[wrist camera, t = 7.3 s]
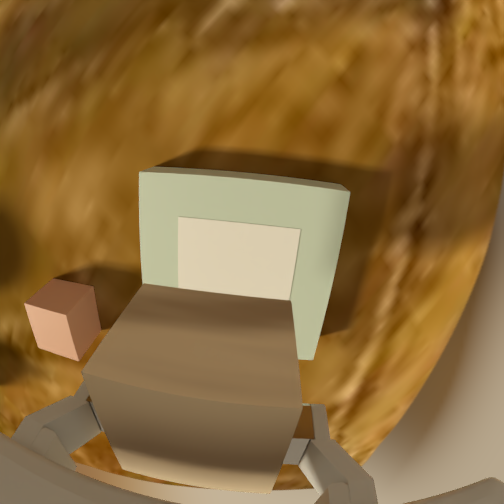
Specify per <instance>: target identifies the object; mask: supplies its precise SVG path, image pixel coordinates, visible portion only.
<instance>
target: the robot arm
mask: <svg viewBox="0 0 504 504" xmlns="http://www.w3.org/2000/svg"><path fill="white" fill-rule="evenodd" d="M302 405H303V409H302V412H301V415H300V418H299V421H298V424H297V426H296V429H295V432H294V435H293V437H292V440H291V443H290V446H289V448H288V451H287V453H286V456H285V459H284V461H283V464H298V466H299V467H300V469H301V470H302V471H303V473H304V474H305V476H306V477H307V479H308V480H309V481H310V483H311V484H312V485H313V487H314V488H315V490H316V491H317V492H318V494H319V495H320V498H319V499H318V500H317V501H316V502H315V504H378V502H377V496H376V490H375V485H374V480H373V478H372V477H371V476H369V474H368V473H367V472H366V471H365V470H364V469H363V468H362V467H361V466H360V465H359V464H358V463H357V462H356V461H355V460H354V459H353V458H352V457H351V456H350V455H349V454H348V453H347V452H346V451H345V450H344V449H343V448H342V447H341V446H340V445H339V444H338V443H337V442H336V441H335V440H331V439H330V435H329V428H328V421H327V414H326V408H325V405H324V404H302ZM101 431H103V432H104V429H103V427H102V425H101V422H100V420H99V418H98V415H97V413H96V410H95V408H94V405H93V403H92V400H91V398H90V395H89V392H88V390H87V387H86V384H85V381H83V383H82V384H81V386H80V387H79V389H78V390H77V392H76V394H75V395H74V397H73V396H69V397H67V398H64V399H62V400H60V401H58V402H56V403H54V404H52V405H50V406H48V407H45V408H43V409H41V410H39V411H37V412H35V413H32V414H30V415H28V416H26V417H25V418H24V420H23V421H22V423H21V424H20V426H19V427H18V429H17V430H16V432H15V433H14V435H13V436H12V438H9V437H8V436H6V435H4V434H3V433H1V432H0V504H179V503H174V502H169V501H165V500H161V499H157V498H153V497H149V496H145V495H142V494H138V493H134V492H131V491H128V490H125V489H121V488H118V487H116V486H113V485H110V484H107V483H104V482H101V481H99V480H96V479H93V478H90V477H88V476H86V475H83V474H81V473H78V472H76V471H75V469H76V464H75V462H74V461H73V459H72V458H71V456H70V455H69V454H70V453H72V452H73V451H75V450H76V449H78V448H79V447H81V446H82V445H84V444H85V443H86V442H88V441H89V440H91V439H92V438H94V437H95V436H96V435H98V434H99V433H101ZM404 504H504V483H503V482H502V481H500V480H498V479H496V478H493V477H490V478H486V479H483V480H481V481H478V482H476V483H473V484H470V485H468V486H465V487H462V488H459V489H456V490H453V491H450V492H446V493H443V494H439V495H436V496H432V497H429V498H425V499H421V500H417V501H413V502H408V503H404Z"/></svg>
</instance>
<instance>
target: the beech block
mask: <svg viewBox="0 0 504 504" xmlns="http://www.w3.org/2000/svg"><path fill="white" fill-rule="evenodd" d="M82 375H83V378H84V381H85V384H86V387H87V390H88V392H89V395H90V398H91V400H92V403H93V405H94V408H95V410H96V413H97V415H98V418H99V420H100V422H101V425H102V427H103V429H104V432H105V434H106V436H107V438H108V440H109V442H110V445H111V447H112V449H113V451H114V453H115V455H116V457H117V459H118V461H119V463H120V465H121V467H122V469H124V470H127V471H131V472H134V473H138V474H142V475H146V476H149V477H154V478H158V479H162V480H167V481H171V482H176V483H181V484H187V485H192V486H198V487H205V488H212V489H219V490H228V491H238V492H250V493H266V494H270V493H271V491H272V488H273V486H274V483H275V481H276V479H277V476H278V474H279V471H280V469H281V466H282V464H283V461H284V459H285V456H286V453H287V451H288V448H289V446H290V443H291V440H292V437H293V435H294V432H295V429H296V426H297V424H298V421H299V418H300V415H301V412H302V409H303V405H302V394H301V384H300V374H299V365H298V355H297V346H296V337H295V328H294V319H293V311H292V303H291V301H290V300H280V299H270V298H260V297H250V296H241V295H232V294H223V293H215V292H206V291H198V290H190V289H183V288H175V287H168V286H160V285H153V284H146V283H144V284H143V285H142V286H141V288H140V289H139V290H138V292H137V293H136V294H135V296H134V297H133V298H132V300H131V301H130V303H129V304H128V305H127V307H126V308H125V309H124V311H123V312H122V314H121V315H120V316H119V318H118V319H117V321H116V322H115V323H114V325H113V326H112V328H111V329H110V330H109V332H108V333H107V335H106V336H105V338H104V339H103V340H102V342H101V343H100V345H99V346H98V348H97V349H96V351H95V352H94V354H93V355H92V357H91V358H90V360H89V361H88V363H87V364H86V366H85V367H84V369H83V370H82Z"/></svg>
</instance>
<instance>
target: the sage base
mask: <svg viewBox="0 0 504 504" xmlns="http://www.w3.org/2000/svg"><path fill="white" fill-rule="evenodd" d="M349 198H350V191H349V190H347V189H346V188H345V187H344V186H342V185H341V184H336V183H329V182H322V181H315V180H308V179H300V178H292V177H284V176H275V175H266V174H256V173H246V172H234V171H222V170H209V169H194V168H176V167H152V168H149V169H146V170H143V171H140V172H139V226H140V251H141V268H142V282H143V284H144V283H146V284H153V285H160V286H168V287H175V288H183V289H190V290H198V291H206V292H215V293H223V294H232V295H241V296H250V297H260V298H270V299H280V300H290V301H291V303H292V311H293V319H294V328H295V337H296V346H297V355H298V359H302V360H313V358H314V354H315V351H316V347H317V344H318V340H319V336H320V332H321V329H322V325H323V321H324V317H325V313H326V309H327V305H328V301H329V296H330V292H331V288H332V284H333V279H334V275H335V270H336V266H337V261H338V256H339V251H340V246H341V242H342V236H343V231H344V226H345V221H346V215H347V210H348V204H349Z"/></svg>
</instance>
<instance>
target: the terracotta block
mask: <svg viewBox="0 0 504 504" xmlns="http://www.w3.org/2000/svg"><path fill="white" fill-rule="evenodd" d="M24 304H25V307H26V311H27V314H28V317H29V321H30V324H31V327H32V330H33V333H34V336H35V339H36V341H37V344H38V347H39V348H41V349H44V350H47V351H50V352H52V353H55V354H58V355H61V356H64V357H67V358H70V359H74V360H77V361H80V359H81V358H82V356H83V355H84V354H85V352H86V351H87V349H88V348H89V347H90V345H91V344H92V342H93V341H94V340H95V338H96V337H97V336H98V334H99V333H100V331H101V326H100V321H99V315H98V310H97V304H96V299H95V293H94V286H89V285H84V284H79V283H74V282H69V281H64V280H59V279H54V278H53V279H52V280H51V281H49V282H48V283H47V284H46V285H45V286H43V287H42V288H41V289H40V290H39V291H38V292H37V293H35V294H34V295H33V296H32V297H31V298H30V299H28V300H27V301H26V302H25V303H24Z"/></svg>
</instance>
